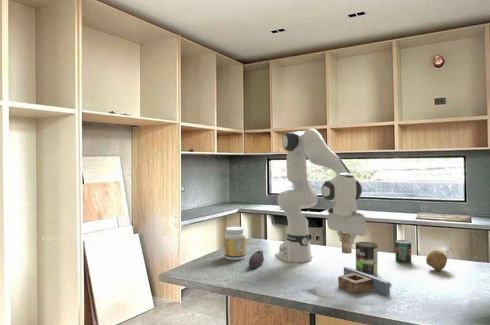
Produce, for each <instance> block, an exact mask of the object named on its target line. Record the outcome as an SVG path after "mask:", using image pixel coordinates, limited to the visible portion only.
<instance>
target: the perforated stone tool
mask: <svg viewBox="0 0 490 325" xmlns="http://www.w3.org/2000/svg"><path fill="white" fill-rule="evenodd" d="M264 260H265V256H264V251H263V250H260V249H259V250H258V251H255V252H254V253H253V254H252V255H251V256H250V257H249V260H248V267H249V268H250V269H256V268H258V267H259V266H261V265H262V264H263V263H264Z"/></svg>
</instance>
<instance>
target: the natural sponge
mask: <svg viewBox="0 0 490 325" xmlns="http://www.w3.org/2000/svg"><path fill="white" fill-rule="evenodd" d="M425 262H426V264H427V265H428V266H429V267H431V268H432V269H433V270H435V271H437V272H441V271H442V270H444V269H445V267H446V265H447V263H448V257H447V255H446V254H445V253H444V252H442V251H440V250H436V249H435V250H432V251H430V252H428V254H427V257H426V259H425Z"/></svg>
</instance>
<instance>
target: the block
mask: <svg viewBox="0 0 490 325" xmlns="http://www.w3.org/2000/svg"><path fill="white" fill-rule="evenodd" d="M337 277H338V279H337V280H338V282H337V283H338V285H337V286H338V288H341V289H343V290H345V291H347V292H350V293H351V294H354V295H359V294H362V293H365V292H368V291H374V290H373V279H371V278H368V277H366V276H363V275H360V274H357V273H351V274H347V275H344V274H343V275H339V276H337Z"/></svg>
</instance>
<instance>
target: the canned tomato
mask: <svg viewBox="0 0 490 325" xmlns="http://www.w3.org/2000/svg"><path fill="white" fill-rule="evenodd" d="M394 242H395V243H394V244H395V252H394V253H395V262H396V264H401V265H402V264H403V265H411V264H412V262H413V261H412V241H410V240H405V239H396V240H395V241H394Z"/></svg>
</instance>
